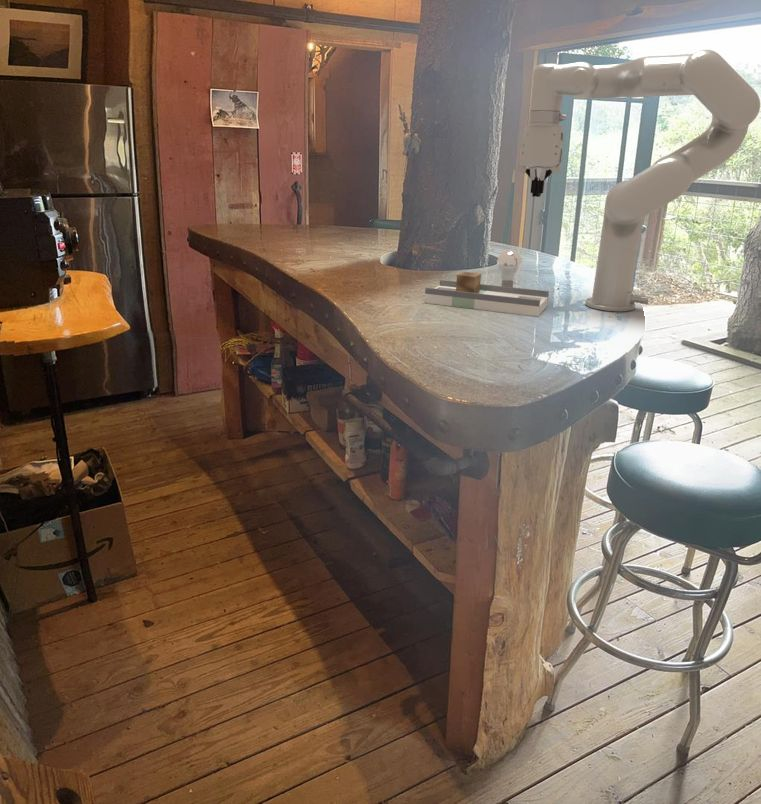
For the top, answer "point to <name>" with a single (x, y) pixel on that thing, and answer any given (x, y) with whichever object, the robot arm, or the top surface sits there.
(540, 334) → the top surface
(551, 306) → the top surface
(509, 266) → the light bulb
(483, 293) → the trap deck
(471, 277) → the walnut block
